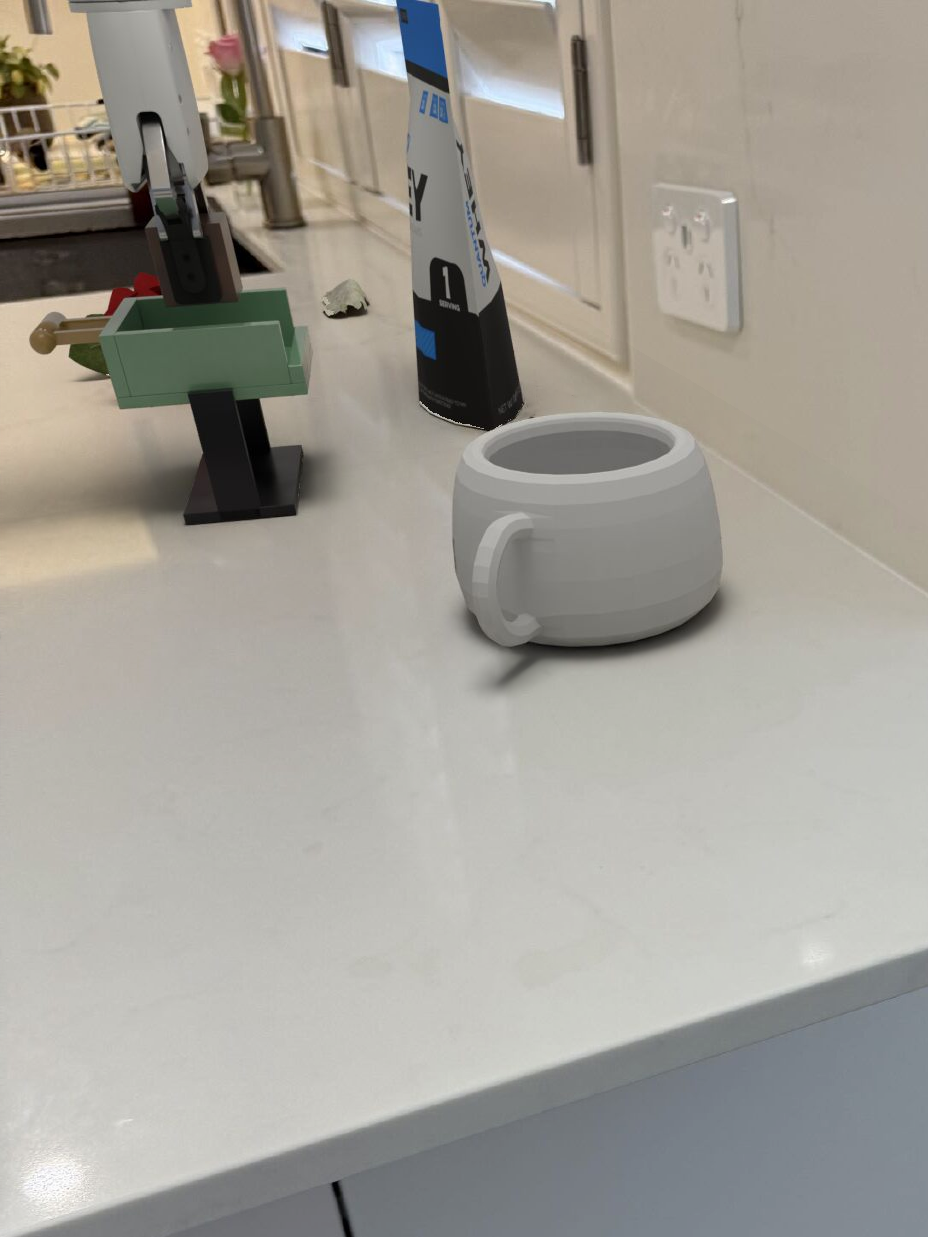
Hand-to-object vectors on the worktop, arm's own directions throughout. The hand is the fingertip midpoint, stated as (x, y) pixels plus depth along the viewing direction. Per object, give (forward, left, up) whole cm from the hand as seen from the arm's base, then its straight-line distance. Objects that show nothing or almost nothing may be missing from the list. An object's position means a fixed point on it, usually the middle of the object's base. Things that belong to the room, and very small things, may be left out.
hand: (202, 291), depth 97 cm
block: (0, 0, 0) cm, 0 cm away
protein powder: (+19, +21, -14) cm, 31 cm away
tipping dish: (-3, 0, -6) cm, 7 cm away
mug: (+22, -33, -14) cm, 42 cm away
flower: (-12, +43, -14) cm, 46 cm away
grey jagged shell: (+7, +66, -14) cm, 68 cm away
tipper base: (0, 0, -14) cm, 14 cm away
